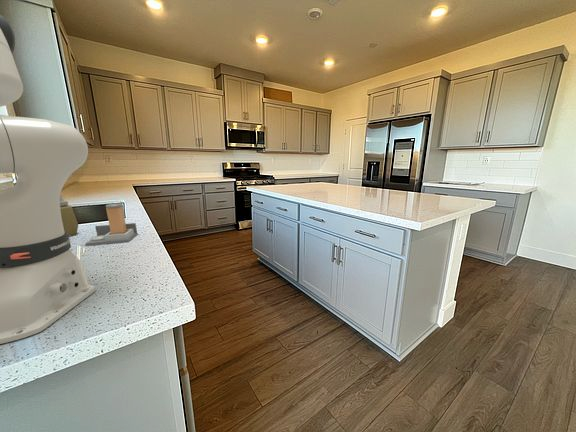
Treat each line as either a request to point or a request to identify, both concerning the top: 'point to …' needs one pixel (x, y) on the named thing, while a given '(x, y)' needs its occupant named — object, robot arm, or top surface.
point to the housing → (112, 235)
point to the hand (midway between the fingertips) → (19, 143)
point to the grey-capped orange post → (116, 218)
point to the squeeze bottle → (68, 218)
